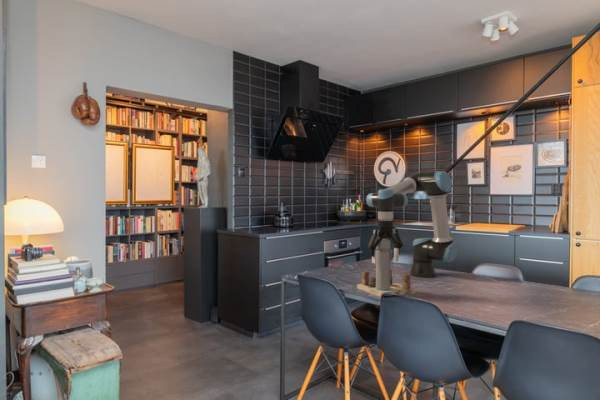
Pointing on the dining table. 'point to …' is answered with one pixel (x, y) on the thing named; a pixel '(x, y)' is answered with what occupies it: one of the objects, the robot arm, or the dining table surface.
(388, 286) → the water bottle
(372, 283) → the keeper leg
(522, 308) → the dining table surface
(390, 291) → the socket pad
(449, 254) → the robot arm
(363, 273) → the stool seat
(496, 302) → the dining table surface
